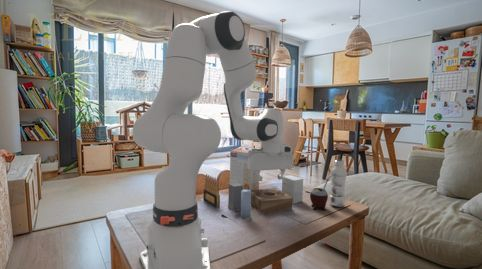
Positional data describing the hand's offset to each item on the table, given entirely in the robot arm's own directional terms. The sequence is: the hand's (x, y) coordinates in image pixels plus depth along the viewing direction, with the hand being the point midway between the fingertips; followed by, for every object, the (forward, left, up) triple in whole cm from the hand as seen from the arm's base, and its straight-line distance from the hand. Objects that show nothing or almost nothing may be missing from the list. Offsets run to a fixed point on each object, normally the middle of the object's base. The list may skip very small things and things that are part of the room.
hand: (270, 179), depth 111 cm
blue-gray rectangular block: (-8, +14, -11) cm, 20 cm away
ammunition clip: (+9, +23, -11) cm, 27 cm away
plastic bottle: (-9, -28, -11) cm, 32 cm away
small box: (+3, -13, -11) cm, 17 cm away
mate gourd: (-9, -19, -11) cm, 24 cm away
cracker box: (+17, +5, -11) cm, 21 cm away
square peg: (+1, +15, -11) cm, 19 cm away
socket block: (0, 0, -11) cm, 11 cm away
